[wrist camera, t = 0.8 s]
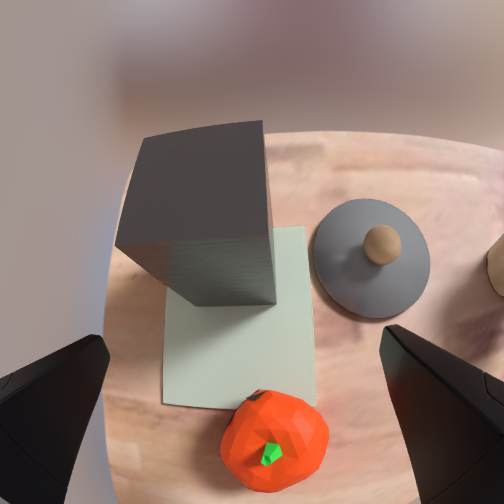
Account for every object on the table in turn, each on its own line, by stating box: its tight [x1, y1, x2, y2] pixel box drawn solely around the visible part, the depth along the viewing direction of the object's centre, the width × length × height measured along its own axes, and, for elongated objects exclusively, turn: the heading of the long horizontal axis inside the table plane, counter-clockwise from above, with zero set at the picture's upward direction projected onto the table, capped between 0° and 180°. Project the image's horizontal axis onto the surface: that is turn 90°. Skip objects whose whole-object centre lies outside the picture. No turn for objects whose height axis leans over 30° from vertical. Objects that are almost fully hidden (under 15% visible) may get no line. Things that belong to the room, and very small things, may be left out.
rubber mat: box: [163, 226, 316, 409], centre depth 21 cm, size 15×12×1 cm
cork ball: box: [363, 225, 401, 265], centre depth 20 cm, size 3×3×3 cm
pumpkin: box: [220, 389, 329, 493], centre depth 14 cm, size 7×8×6 cm
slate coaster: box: [313, 199, 430, 318], centre depth 22 cm, size 11×11×1 cm
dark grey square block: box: [115, 120, 277, 307], centre depth 17 cm, size 6×6×12 cm
